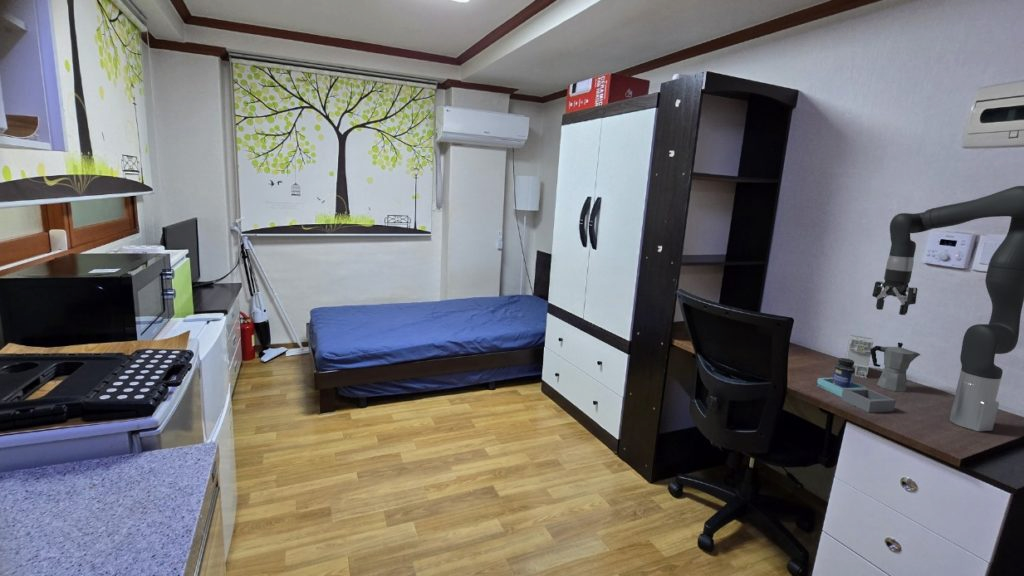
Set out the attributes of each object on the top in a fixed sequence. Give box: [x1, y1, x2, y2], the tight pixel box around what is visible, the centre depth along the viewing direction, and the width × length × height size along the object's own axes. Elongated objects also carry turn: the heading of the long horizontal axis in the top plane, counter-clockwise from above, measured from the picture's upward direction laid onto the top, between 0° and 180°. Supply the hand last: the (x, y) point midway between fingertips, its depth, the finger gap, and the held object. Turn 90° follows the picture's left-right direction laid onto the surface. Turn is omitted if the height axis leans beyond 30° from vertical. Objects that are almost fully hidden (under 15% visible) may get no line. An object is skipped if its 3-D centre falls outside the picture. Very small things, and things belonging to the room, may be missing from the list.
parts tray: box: [816, 377, 867, 398], centre depth 178 cm, size 11×11×3 cm
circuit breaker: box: [845, 334, 874, 379], centre depth 200 cm, size 8×14×15 cm, turn 146°
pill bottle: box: [832, 357, 855, 388], centre depth 177 cm, size 6×6×11 cm
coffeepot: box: [870, 342, 921, 393], centre depth 183 cm, size 15×9×18 cm, turn 67°
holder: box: [840, 387, 897, 414], centre depth 165 cm, size 10×10×4 cm
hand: (890, 312), depth 177 cm, fingers open, 8 cm apart
